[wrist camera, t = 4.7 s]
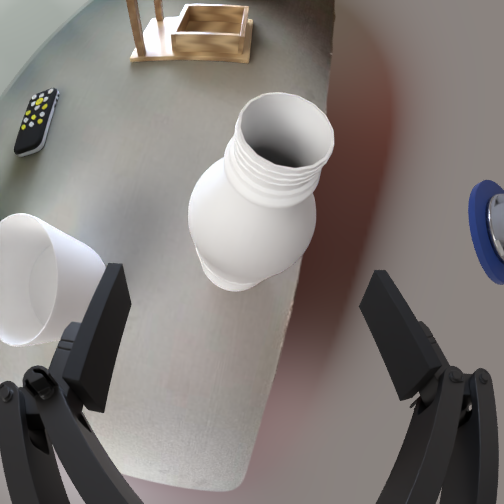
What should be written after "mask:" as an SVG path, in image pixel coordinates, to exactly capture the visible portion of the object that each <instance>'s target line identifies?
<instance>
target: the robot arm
mask: <svg viewBox="0 0 504 504" xmlns="http://www.w3.org/2000/svg"><path fill="white" fill-rule="evenodd" d="M485 220H486V228H487V233H488V237H489V240H490V243H491V246H492V249H493V251H494V253H495V255H496V256H497V258H498V259H499V261H500V262H501V263H503V264H504V194H496V195H494V196H492V197H490V198H489V199H488V201H487V204H486V209H485ZM359 307H360V310H361V312H362V314H363V316H364V318H365V320H366V322H367V324H368V327H369V329H370V331H371V333H372V335H373V338H374V339H375V342H376V344H377V346H378V349H379V351H380V353H381V356H382V358H383V360H384V363H385V365H386V367H387V370H388V372H389V374H390V377H391V379H392V382H393V384H394V386H395V389H396V392H397V394H398V396H399V399H400V401H402V400H406V399H409V398H412V397H413V396H414V395H415V394H416V393H417V392H418V391H419V393H420V397H419V398H417V400H415V401H414V402H413V403H412V404H411V406H410V408H412V407H413V406H414V405H415V404H416V406H415V408H414V413H413V416H412V419H411V422H410V425H409V428H408V431H407V434H406V436H405V439H404V442H403V445H402V447H401V450H400V452H399V455H398V457H397V460H396V462H395V464H394V467H393V469H392V471H391V474H390V476H389V478H388V480H387V482H386V485H385V486H384V488H383V490H382V493H381V494H380V496H379V498H378V500H377V502H376V504H436V501H437V499H438V496H439V493H440V490H441V488H442V491H441V498H440V504H496V498H497V487H498V466H499V465H498V464H499V450H498V448H499V447H498V427H497V416H496V405H495V398H494V391H493V385H492V379H491V376H490V374H489V373H488V372H487V371H486V370H485V369H482V368H479V369H477V370H476V371H475V372H474V373H473V374H463V373H462V371H461V370H460V369H459V368H457V367H455V366H450V365H449V363H448V361H447V359H446V358H445V356H444V354H443V352H442V351H441V349H440V347H439V345H438V344H437V342H436V340H435V338H434V337H433V335H432V333H431V331H430V329H429V328H428V327H427V326H426V325H425V324H424V323H423V322H422V321H419V322H418V321H417V319H416V317H415V316H414V314H413V312H412V311H411V309H410V307H409V306H408V304H407V302H406V301H405V299H404V298H403V296H402V295H401V293H400V291H399V290H398V288H397V287H396V285H395V284H394V282H393V281H392V279H391V278H390V276H389V275H388V273H387V272H386V271H385V270H375V271H374V273H373V275H372V278H371V280H370V282H369V285H368V287H367V289H366V292H365V294H364V296H363V299H362V301H361V303H360V305H359ZM130 308H131V300H130V296H129V291H128V287H127V283H126V278H125V274H124V269H123V264H116V263H108V265H107V267H106V269H105V271H104V274H103V276H102V278H101V280H100V282H99V284H98V286H97V288H96V290H95V293H94V295H93V297H92V299H91V301H90V304H89V306H88V308H87V311H86V313H85V315H84V318H83V320H82V322H81V323H79V322H71V323H70V324H69V325H68V326H67V327H66V328H65V329H64V331H63V334H62V336H61V340H60V341H59V343H58V346H57V348H56V351H55V353H54V356H53V359H52V361H51V364H50V367H49V369H48V370H47V369H46V368H45V367H43V366H34V367H31V368H30V369H28V370H27V372H26V373H25V374H24V377H23V387H19V388H18V387H17V386H16V385H15V384H14V383H13V382H11V381H5V382H3V383H1V384H0V451H1V457H2V463H3V468H4V472H5V477H6V482H7V486H8V490H9V494H10V498H11V501H12V504H70V502H69V500H68V497H67V494H66V491H65V488H64V485H63V482H62V479H61V476H60V472H59V469H58V465H57V462H56V459H55V454H54V451H53V447H54V449H55V451H56V453H57V455H58V457H59V459H60V461H61V463H62V465H63V467H64V468H65V470H66V472H67V474H68V475H69V477H70V479H71V481H72V483H73V484H74V486H75V488H76V489H77V491H78V492H79V494H80V496H81V497H82V499H83V500H84V501H85V503H86V504H144V503H143V502H142V501H141V499H140V498H139V497H138V496H137V494H136V493H135V492H134V491H133V490H132V488H131V487H130V486H129V484H128V483H127V482H126V480H125V479H124V478H123V476H122V475H121V473H120V472H119V471H118V469H117V468H116V466H115V465H114V463H113V462H112V460H111V459H110V457H109V456H108V454H107V453H106V451H105V450H104V448H103V447H102V445H101V443H100V442H99V440H98V438H97V437H96V435H95V433H94V432H93V430H92V428H91V426H90V425H89V423H88V421H87V419H86V417H85V415H84V414H83V412H82V408H83V404H84V406H85V407H86V408H87V409H88V410H91V411H96V412H101V413H104V411H105V405H106V401H107V396H108V391H109V386H110V382H111V378H112V373H113V369H114V365H115V361H116V357H117V353H118V349H119V346H120V342H121V338H122V335H123V331H124V328H125V324H126V321H127V317H128V314H129V311H130ZM471 404H472V410H471V411H469V406H470V405H471ZM52 445H53V446H52Z"/></svg>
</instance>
